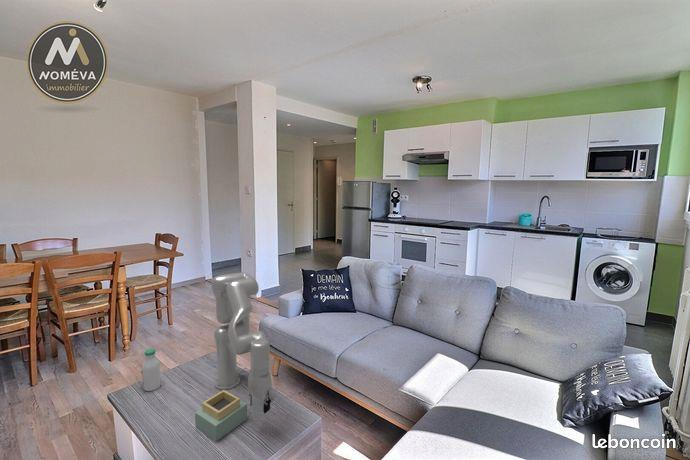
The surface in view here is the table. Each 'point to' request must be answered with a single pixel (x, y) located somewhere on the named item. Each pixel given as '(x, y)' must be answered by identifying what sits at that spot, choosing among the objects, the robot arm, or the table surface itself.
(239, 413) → the green yellow rimmed box
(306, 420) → the table surface
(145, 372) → the milk bottle
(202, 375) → the table surface
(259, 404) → the skincare box
